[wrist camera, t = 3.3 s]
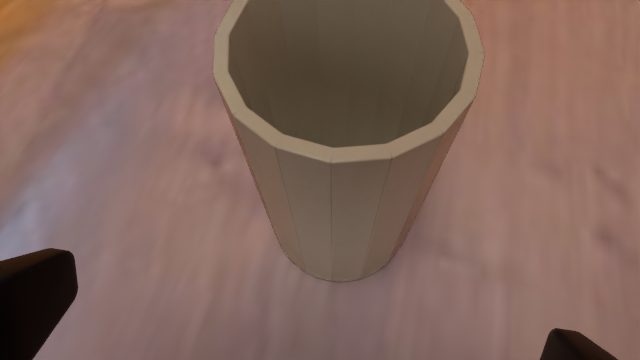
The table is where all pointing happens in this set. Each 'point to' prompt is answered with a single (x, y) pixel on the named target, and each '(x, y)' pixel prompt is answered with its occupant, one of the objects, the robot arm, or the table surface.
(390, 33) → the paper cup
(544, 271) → the table surface
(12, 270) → the robot arm
